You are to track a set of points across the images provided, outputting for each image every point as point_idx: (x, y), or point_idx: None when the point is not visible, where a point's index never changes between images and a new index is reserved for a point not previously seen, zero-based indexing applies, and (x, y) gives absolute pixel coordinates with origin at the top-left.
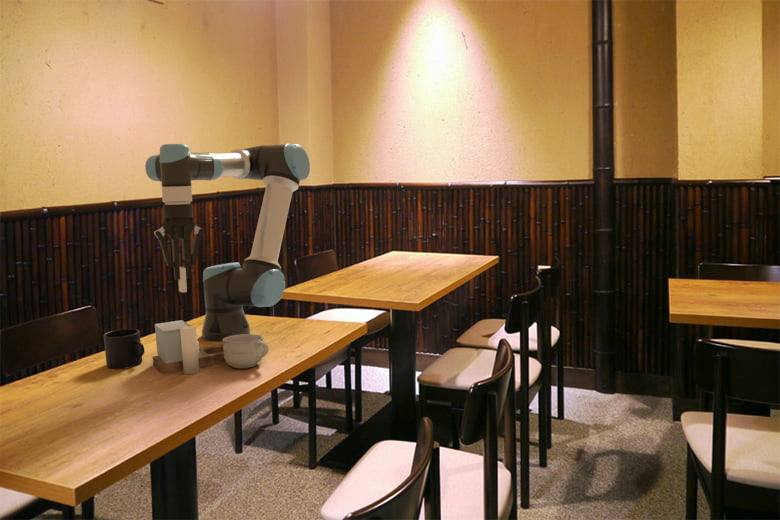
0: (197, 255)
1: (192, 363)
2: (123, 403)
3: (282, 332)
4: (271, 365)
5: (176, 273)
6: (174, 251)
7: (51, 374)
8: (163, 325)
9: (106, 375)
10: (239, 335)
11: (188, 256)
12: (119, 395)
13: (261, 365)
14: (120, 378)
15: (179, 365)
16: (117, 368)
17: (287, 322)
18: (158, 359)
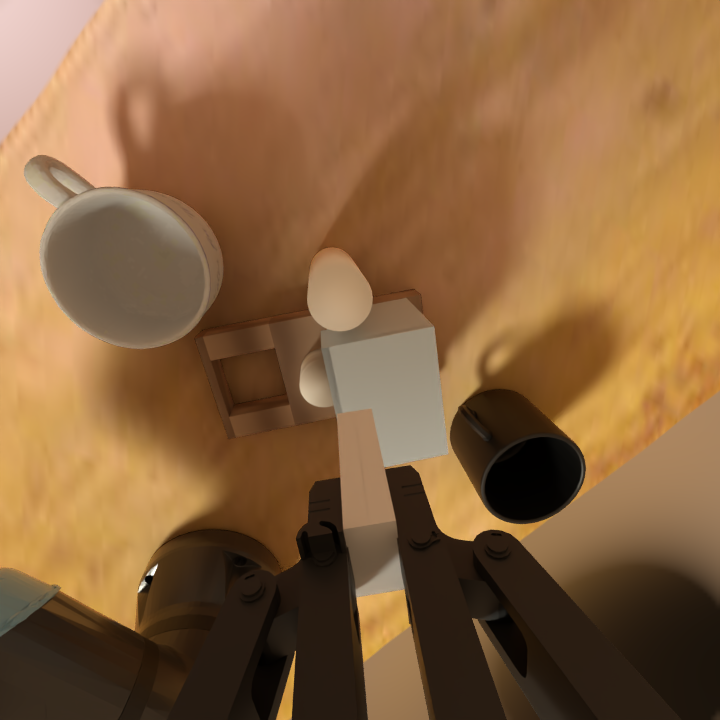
0: (190, 671)
1: (330, 250)
2: (549, 40)
3: (43, 554)
4: None
5: (416, 498)
6: (496, 705)
7: (654, 416)
8: (422, 420)
9: (546, 348)
10: (144, 343)
11: (303, 647)
12: (546, 135)
13: None
14: (519, 304)
15: None
16: (515, 392)
17: None
18: None
